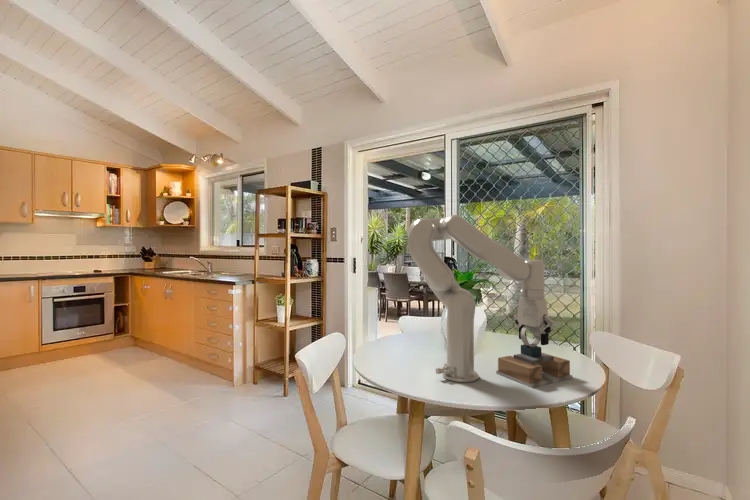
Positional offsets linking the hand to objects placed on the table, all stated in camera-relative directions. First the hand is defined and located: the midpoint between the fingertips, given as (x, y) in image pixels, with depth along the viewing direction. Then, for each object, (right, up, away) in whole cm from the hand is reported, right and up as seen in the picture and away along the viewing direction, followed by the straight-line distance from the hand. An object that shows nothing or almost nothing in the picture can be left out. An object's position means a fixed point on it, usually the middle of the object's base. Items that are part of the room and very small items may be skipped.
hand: (533, 341), depth 133 cm
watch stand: (0, -12, 0) cm, 12 cm away
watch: (0, -5, +2) cm, 6 cm away
